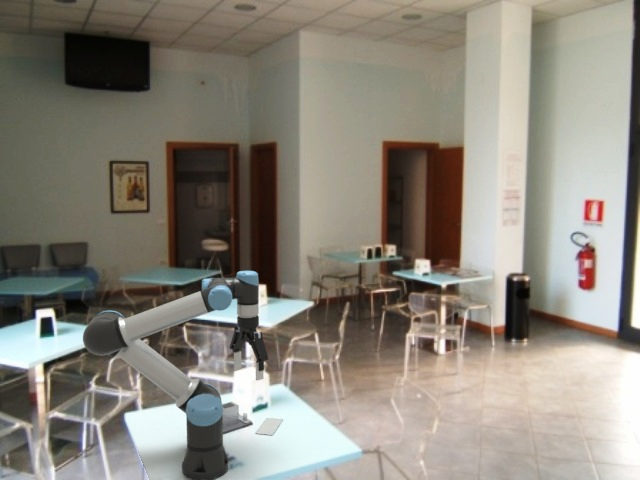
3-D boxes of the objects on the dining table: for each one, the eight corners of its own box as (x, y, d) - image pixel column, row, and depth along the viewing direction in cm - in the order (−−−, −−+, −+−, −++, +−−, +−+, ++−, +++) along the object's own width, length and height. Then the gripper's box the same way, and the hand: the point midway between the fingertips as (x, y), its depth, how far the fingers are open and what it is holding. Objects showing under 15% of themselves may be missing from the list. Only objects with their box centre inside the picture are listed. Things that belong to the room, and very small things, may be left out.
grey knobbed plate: (217, 436, 217) (217, 426, 217) (200, 426, 226) (200, 416, 226) (252, 424, 228) (252, 415, 227) (235, 415, 237) (235, 406, 236)
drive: (223, 427, 223) (223, 409, 222) (216, 423, 227) (216, 405, 226) (238, 422, 227) (238, 404, 227) (231, 418, 231) (231, 401, 230)
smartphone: (254, 433, 219) (266, 417, 234) (254, 435, 219) (266, 419, 234) (272, 435, 218) (283, 419, 232) (272, 436, 218) (283, 420, 232)
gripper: (278, 320, 197) (278, 381, 199) (237, 307, 215) (237, 363, 218) (260, 323, 192) (260, 386, 194) (219, 310, 210) (220, 367, 213)
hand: (248, 374), depth 206 cm, fingers open, 13 cm apart
